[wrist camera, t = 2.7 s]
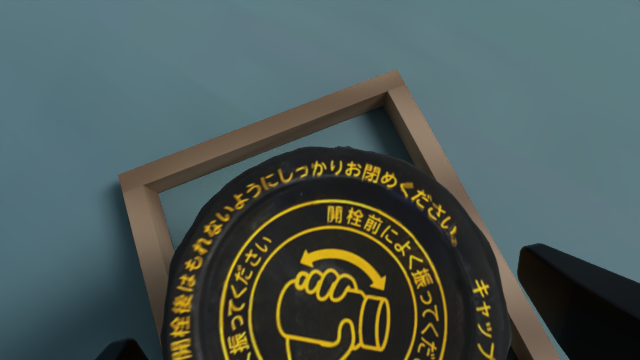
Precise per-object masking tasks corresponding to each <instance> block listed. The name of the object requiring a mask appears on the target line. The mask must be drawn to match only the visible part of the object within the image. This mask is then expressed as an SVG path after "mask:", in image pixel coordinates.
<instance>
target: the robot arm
mask: <svg viewBox="0 0 640 360" xmlns="http://www.w3.org/2000/svg"><path fill="white" fill-rule="evenodd" d="M517 275H518V279H519V282H520V283H521V285H522V287H523V288H524V290H525V292H526V293H527V295H528V296H529V298H530V300H531V301H532V303H533V305H534V306H535V308H536V309H537V311H538V313H539V314H540V316H541V317H542V319H543V321H544V322H545V324H546V325H547V327H548V329H549V330H550V332H551V334H552V335H553V337H554V338H555V340H556V341H557V343H558V344H559V345H560V347H561V348H562V350H563V351H564V352H565V354H566V355H567V356H568V358H569V359H570V360H640V283H638V282H635V281H633V280H630V279H628V278H625V277H623V276H621V275H618V274H616V273H613V272H611V271H608V270H606V269H603V268H601V267H598V266H596V265H594V264H591V263H589V262H586V261H584V260H581V259H579V258H576V257H574V256H571V255H569V254H567V253H564V252H562V251H559V250H557V249H554V248H552V247H549V246H547V245H544V244H541V243H537V244H533V245H528V246H524V247H523V248H522V249H521V251H520V256H519V263H518V270H517ZM95 360H148V358H147V357H146V355H145V354H144V352H143V351H142V349H141V348H140V346H139V345H138V343H137V342H136V340H135V339H133V338H125V339H121V340H117V341H114V342H112V343H110V344H109V345H108V346H107V347H106V348H105V349H104V350H103V351H102V353H101V354H100V355H99V356H98V357H97V358H96V359H95Z"/></svg>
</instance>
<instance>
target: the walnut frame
mask: <svg viewBox="0 0 640 360" xmlns="http://www.w3.org/2000/svg"><path fill="white" fill-rule="evenodd" d="M381 106H384V108H385V110H386V112H387V114H388V115H389V117H390V119H391V121H392V123H393V125H394V127H395V129H396V130H397V132H398V134H399V136H400V138H401V140H402V142H403V144H404V146H405V147H406V149H407V151H408V153H409V155H410V157H411V159H412V161H413V162H414V164H415V166H416V167H417V168H419V169H421V170H423V171H424V172H426V173H428V174H429V175H430V176H431V177H432V178H434V179H435V180H436V181H437V182H439V183H440V184H441V185H442V186H444V187H445V188H446V189H448V190H449V191H450V193H451V194H452V195H453V196H454V197H455V198H456V199H457V200H458V202H459V203H460V204H461V205H462V207H463V208H464V209H465V210H466V212H467V213H468V215H469V216H470V218H471V219H472V220H473V222H474V223H475V224H476V225H477V226H478V227H479V229H480V230H481V231H482V232H483V234H484V235H485V237H486V238H487V240H488V241H489V243H490V245H491V248H492V250H493V252H494V254H495V257H496V260H497V263H498V268H499V273H500V277H501V283H502V288H503V293H504V297H505V300H506V304H507V310H508V316H509V321H510V327H511V332H512V341H511V347H512V349H513V351H514V353H515V355H516V356H517V358H518V360H561V359H560V357H559V355H558V354H557V352H556V350H555V348H554V347H553V345H552V343H551V341H550V339H549V338H548V336H547V334H546V332H545V331H544V329H543V327H542V325H541V324H540V322H539V320H538V318H537V316H536V315H535V313H534V311H533V309H532V308H531V306H530V304H529V302H528V301H527V299H526V297H525V295H524V293H523V292H522V290H521V288H520V286H519V285H518V283H517V281H516V279H515V278H514V276H513V274H512V272H511V270H510V269H509V267H508V265H507V263H506V262H505V260H504V258H503V256H502V255H501V253H500V251H499V249H498V247H497V246H496V244H495V242H494V240H493V239H492V237H491V235H490V233H489V232H488V230H487V228H486V226H485V224H484V223H483V221H482V219H481V217H480V216H479V214H478V212H477V210H476V209H475V207H474V205H473V203H472V201H471V200H470V198H469V196H468V194H467V193H466V191H465V189H464V187H463V186H462V184H461V182H460V180H459V178H458V177H457V175H456V173H455V171H454V170H453V168H452V166H451V164H450V163H449V161H448V159H447V157H446V155H445V154H444V152H443V150H442V148H441V147H440V145H439V143H438V141H437V140H436V138H435V136H434V134H433V132H432V131H431V129H430V127H429V125H428V124H427V122H426V120H425V118H424V117H423V115H422V113H421V111H420V109H419V108H418V106H417V104H416V102H415V101H414V99H413V97H412V95H411V94H410V92H409V90H408V88H407V86H406V85H405V83H404V81H403V79H402V78H401V76H400V74H399V72H398V71H397V69H396V70H393V71H390V72H388V73H385V74H382V75H380V76H377V77H374V78H372V79H369V80H367V81H364V82H361V83H359V84H356V85H353V86H351V87H348V88H345V89H343V90H340V91H338V92H335V93H332V94H330V95H327V96H324V97H322V98H319V99H316V100H314V101H311V102H309V103H306V104H303V105H301V106H298V107H295V108H293V109H290V110H287V111H285V112H282V113H280V114H277V115H274V116H272V117H269V118H266V119H264V120H261V121H259V122H256V123H253V124H251V125H248V126H245V127H243V128H240V129H237V130H235V131H232V132H230V133H227V134H224V135H222V136H219V137H216V138H214V139H211V140H208V141H206V142H203V143H201V144H198V145H195V146H193V147H190V148H187V149H185V150H182V151H179V152H177V153H174V154H172V155H169V156H166V157H164V158H161V159H158V160H156V161H153V162H150V163H148V164H145V165H143V166H140V167H137V168H135V169H132V170H129V171H127V172H124V173H122V174H119V175H118V176H119V180H120V184H121V188H122V192H123V196H124V200H125V205H126V209H127V213H128V217H129V221H130V225H131V229H132V233H133V237H134V241H135V245H136V249H137V253H138V257H139V261H140V265H141V269H142V273H143V277H144V281H145V285H146V289H147V293H148V297H149V301H150V305H151V309H152V313H153V317H154V321H155V325H156V329H157V333H158V337H159V341H160V345H161V338H160V334H161V330H162V325H163V318H164V304H165V298H166V292H167V285H168V277H169V267H170V263H171V260H172V257H173V255H174V253H175V252H174V249H173V245H172V242H171V238H170V234H169V231H168V227H167V224H166V220H165V217H164V213H163V210H162V206H161V202H160V199H159V195H158V193H160V192H162V191H165V190H168V189H170V188H173V187H175V186H178V185H180V184H183V183H186V182H188V181H191V180H193V179H196V178H198V177H201V176H204V175H206V174H209V173H211V172H214V171H216V170H219V169H222V168H224V167H227V166H229V165H232V164H234V163H237V162H240V161H242V160H245V159H247V158H250V157H252V156H255V155H258V154H260V153H263V152H265V151H268V150H270V149H273V148H276V147H278V146H281V145H283V144H286V143H288V142H291V141H294V140H296V139H299V138H301V137H304V136H306V135H309V134H312V133H314V132H317V131H319V130H322V129H324V128H327V127H330V126H332V125H335V124H337V123H340V122H342V121H345V120H348V119H350V118H353V117H355V116H358V115H360V114H363V113H366V112H368V111H371V110H373V109H376V108H378V107H381ZM161 349H162V347H161ZM162 354H163V353H162Z"/></svg>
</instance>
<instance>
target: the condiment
mask: <svg viewBox="0 0 640 360" xmlns="http://www.w3.org/2000/svg"><path fill="white" fill-rule="evenodd" d="M160 338H161V347H162V353H163V359H164V360H506V359H507V354H508V351H509V348H510V345H511V341H512V332H511V327H510V321H509V316H508V310H507V304H506V300H505V297H504V293H503V288H502V283H501V277H500V273H499V268H498V263H497V260H496V257H495V254H494V252H493V250H492V248H491V245H490V243H489V241H488V240H487V238H486V237H485V235H484V234H483V232H482V231H481V230H480V229H479V227H478V226H477V225H476V224H475V223H474V222H473V220H472V219H471V218H470V216H469V215H468V213H467V212H466V210H465V209H464V208H463V207H462V205H461V204H460V203H459V202H458V200H457V199H456V198H455V197H454V196H453V195H452V194H451V193H450V191H449V190H448V189H446V188H445V187H444V186H442V185H441V184H440V183H439V182H437V181H436V180H435V179H434V178H432V177H431V176H430V175H429V174H428V173H426V172H424V171H423V170H421V169H419V168H417V167H415V166H414V165H412V164H410V163H408V162H406V161H404V160H402V159H399V158H396V157H393V156H389V155H384V154H379V153H375V152H372V151H362V150H358V149H354V148H351V147H349V146H347V147H340V146H338V147H335V148H326V147H303V148H298V149H296V150H294V151H291V152H286V153H284V154H281V155H278V156H275V157H272V158H270V159H268V160H266V161H264V162H262V163H261V164H259V165H257V166H255V167H252V168H250V169H248V170H246V171H245V172H243V173H242V174H240V175H239V176H237V177H236V178H234V179H233V180H231V181H230V182H229V183H227V184H226V185H225V186H224V187H223V188H222V189H221V190H220V191H219V192H218V193H217V194H216V195H214V196H213V197H212V198H211V199H210V200H209V201H208V202H207V203H206V204H205V205H204V206H203V207H202V209H201V210H200V212H199V213H198V215H197V217H196V219H195V221H194V223H193V225H192V226H191V228H190V229H189V231H188V232H187V234H186V235H185V237H184V239H183V241H182V243H181V244H180V245H179V247H178V248H177V250H176V252H175V253H174V255H173V257H172V260H171V263H170V267H169V277H168V285H167V292H166V298H165V304H164V318H163V325H162V330H161V334H160Z"/></svg>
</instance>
